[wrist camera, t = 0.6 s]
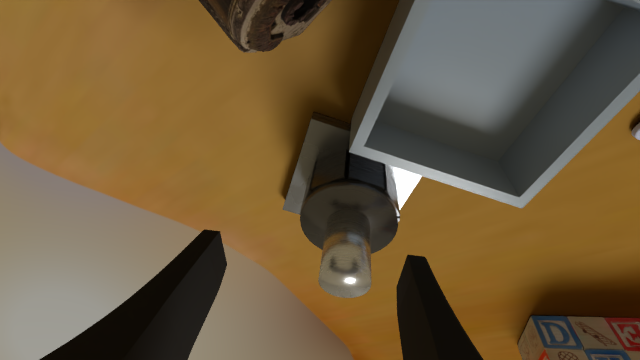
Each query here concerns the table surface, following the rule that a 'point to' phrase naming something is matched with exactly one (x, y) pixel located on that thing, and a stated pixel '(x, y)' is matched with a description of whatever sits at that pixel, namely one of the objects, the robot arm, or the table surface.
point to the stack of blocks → (580, 338)
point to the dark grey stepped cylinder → (349, 218)
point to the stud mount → (325, 141)
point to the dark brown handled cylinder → (263, 20)
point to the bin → (496, 89)
